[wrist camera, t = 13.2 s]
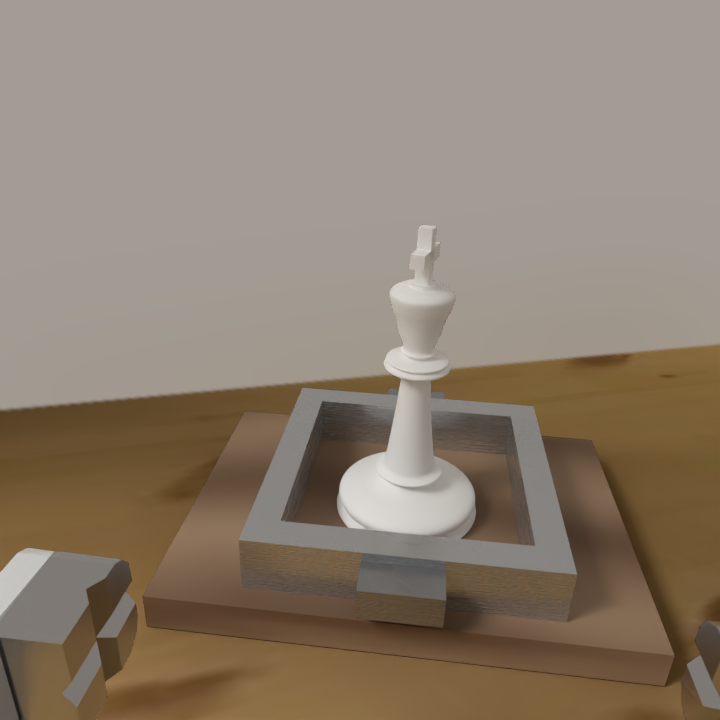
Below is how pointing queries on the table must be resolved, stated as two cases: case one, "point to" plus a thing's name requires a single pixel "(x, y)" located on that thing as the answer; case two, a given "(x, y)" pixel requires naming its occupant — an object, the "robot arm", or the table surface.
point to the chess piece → (412, 423)
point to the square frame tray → (411, 551)
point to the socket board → (460, 629)
